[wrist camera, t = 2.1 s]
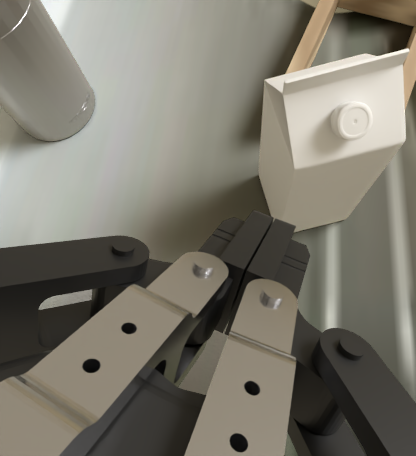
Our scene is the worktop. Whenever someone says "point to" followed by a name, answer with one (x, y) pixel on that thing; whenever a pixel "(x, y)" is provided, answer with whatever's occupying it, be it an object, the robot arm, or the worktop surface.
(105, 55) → the worktop surface
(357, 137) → the milk carton
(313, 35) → the U-rest
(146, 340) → the robot arm
